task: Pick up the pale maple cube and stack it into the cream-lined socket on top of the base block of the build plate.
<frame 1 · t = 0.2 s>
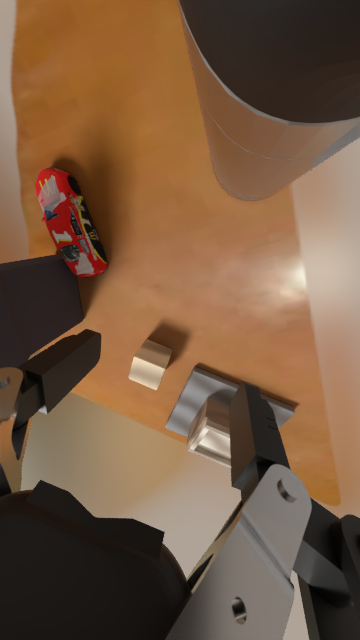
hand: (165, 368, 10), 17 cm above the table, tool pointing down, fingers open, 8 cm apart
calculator: (71, 289, 31), on the table
maple cube: (156, 354, 33), on the table
race car: (81, 227, 26), on the table
build plate: (221, 415, 36), on the table
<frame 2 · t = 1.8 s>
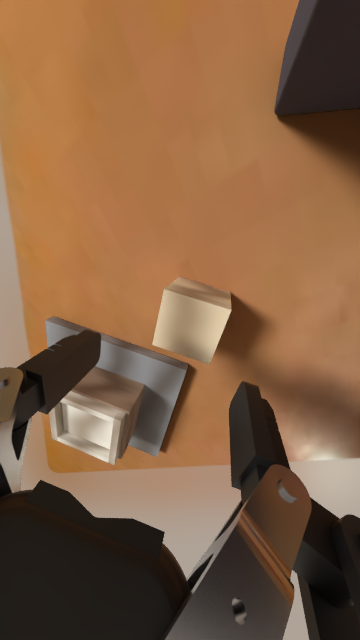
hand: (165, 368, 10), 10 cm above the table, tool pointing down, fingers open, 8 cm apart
maple cube: (197, 307, 19), on the table
build plate: (112, 390, 26), on the table
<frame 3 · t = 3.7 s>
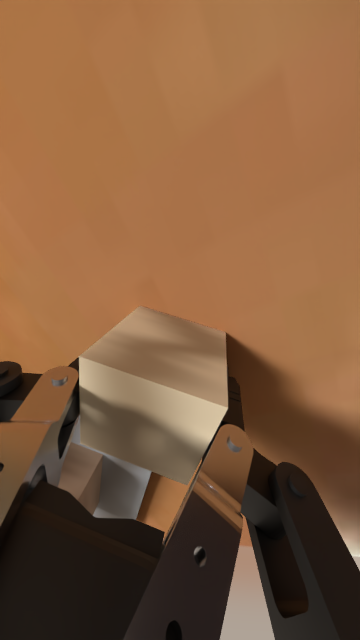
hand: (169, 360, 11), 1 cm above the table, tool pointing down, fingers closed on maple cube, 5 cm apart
maple cube: (172, 353, 11), on the table, touching gripper
build plate: (66, 450, 19), on the table
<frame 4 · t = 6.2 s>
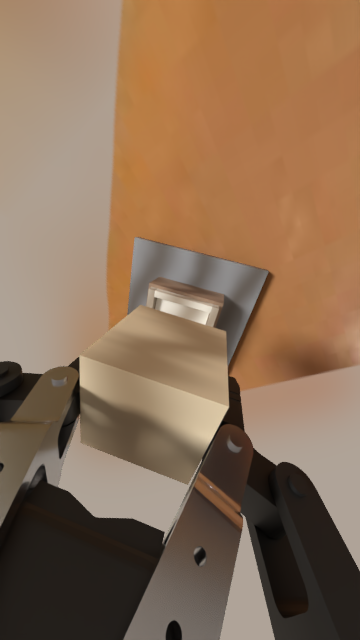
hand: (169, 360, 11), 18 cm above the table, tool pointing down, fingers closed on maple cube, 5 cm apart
maple cube: (172, 353, 11), point 17 cm above the table, touching gripper
build plate: (185, 312, 29), on the table
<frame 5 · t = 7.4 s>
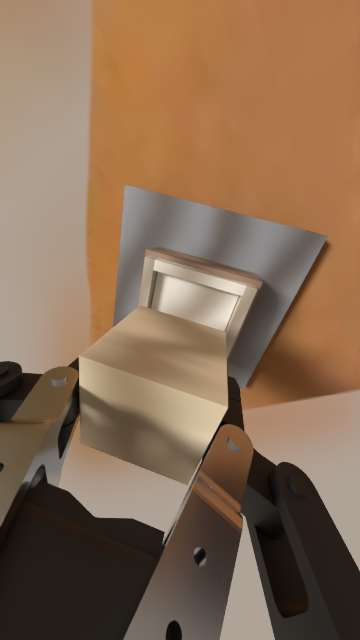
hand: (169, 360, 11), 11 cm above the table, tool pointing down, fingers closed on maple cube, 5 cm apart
maple cube: (172, 353, 11), point 11 cm above the table, touching gripper
build plate: (195, 300, 21), on the table
when the fingers open (7 cm above the table, at t = 8.7 s): maple cube drops 1 cm, resting on build plate.
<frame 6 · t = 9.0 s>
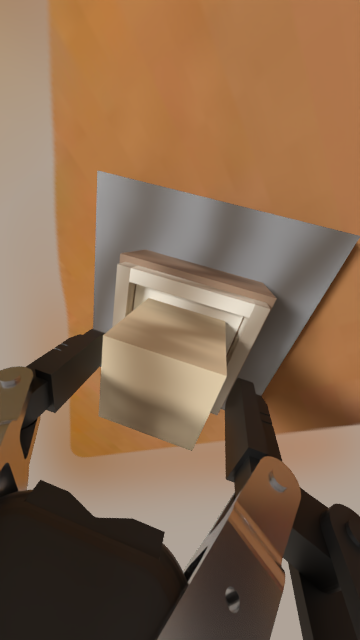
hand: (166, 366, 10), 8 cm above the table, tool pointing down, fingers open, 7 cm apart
maple cube: (177, 342, 13), point 5 cm above the table, touching build plate
build plate: (189, 313, 17), on the table
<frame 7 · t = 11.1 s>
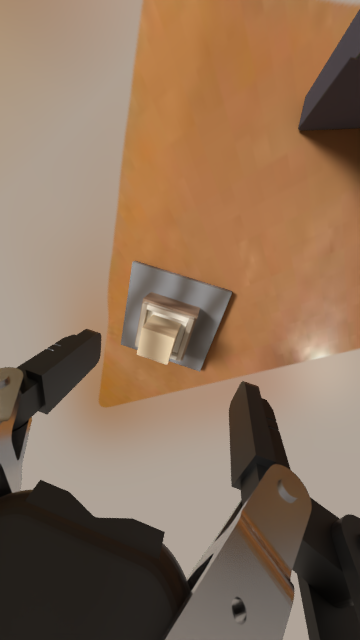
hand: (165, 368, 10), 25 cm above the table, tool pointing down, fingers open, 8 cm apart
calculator: (350, 112, 22), on the table
maple cube: (163, 331, 32), point 5 cm above the table, touching build plate
build plate: (170, 319, 37), on the table
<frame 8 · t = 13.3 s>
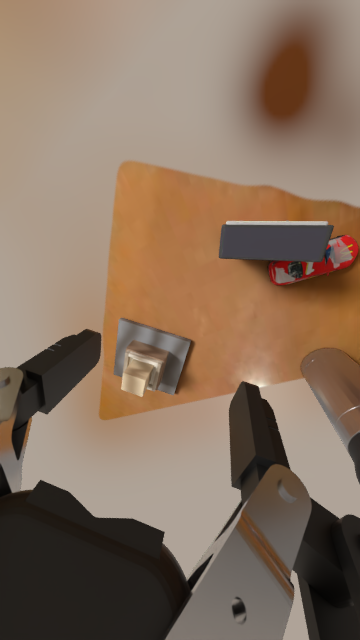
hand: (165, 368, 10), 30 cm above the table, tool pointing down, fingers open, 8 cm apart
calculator: (252, 238, 33), on the table
maple cube: (142, 370, 44), point 5 cm above the table, touching build plate
race car: (306, 261, 33), on the table
build plate: (149, 357, 49), on the table
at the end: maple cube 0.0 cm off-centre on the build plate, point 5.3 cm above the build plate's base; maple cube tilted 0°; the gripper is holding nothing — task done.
